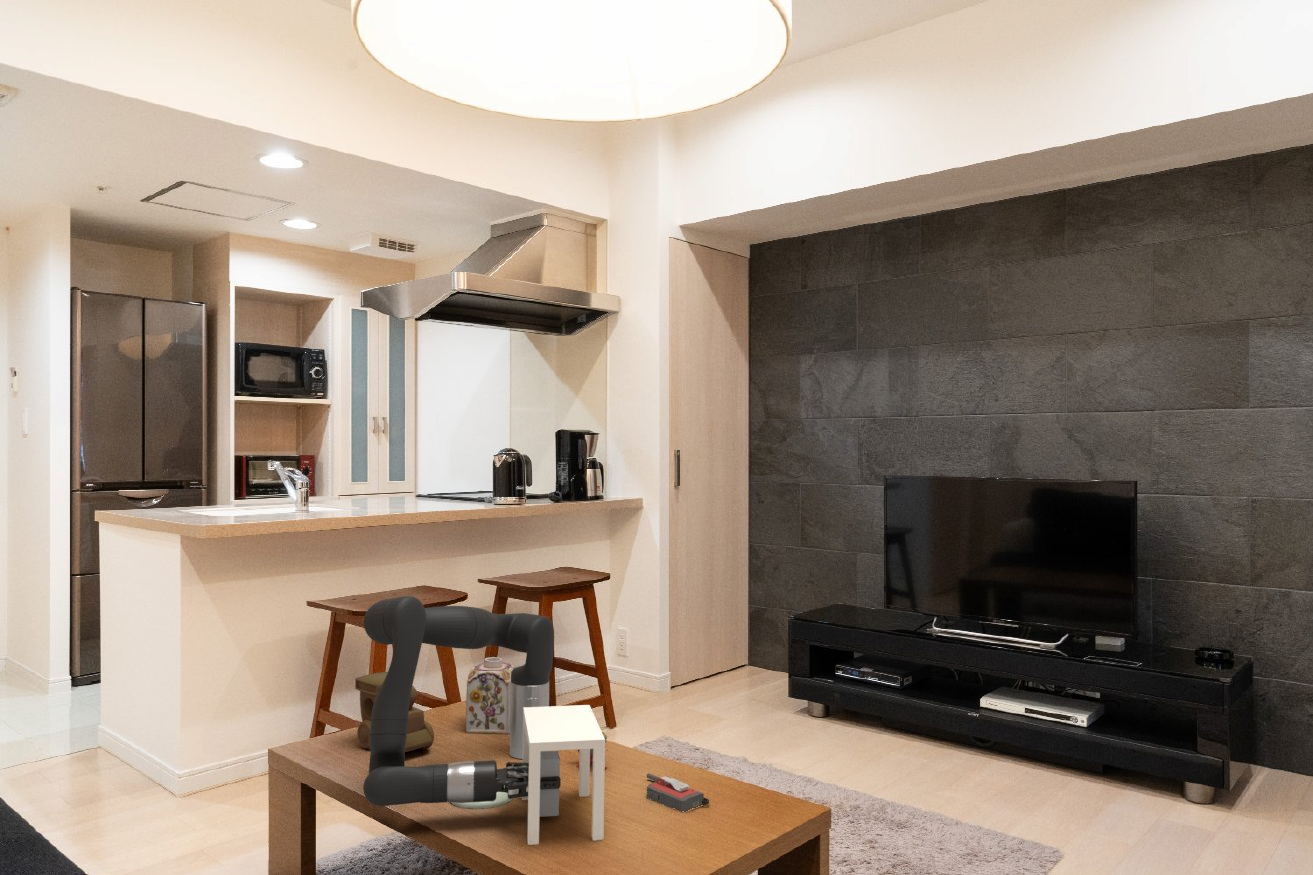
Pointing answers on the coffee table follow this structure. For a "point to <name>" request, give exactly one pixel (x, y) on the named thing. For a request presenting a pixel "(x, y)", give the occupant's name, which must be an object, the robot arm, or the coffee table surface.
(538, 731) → the white step stool
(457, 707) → the coffee table surface
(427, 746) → the wooden toy train
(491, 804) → the plate
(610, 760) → the coffee table surface
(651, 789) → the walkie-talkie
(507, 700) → the decorative jar
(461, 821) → the coffee table surface
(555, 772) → the block
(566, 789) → the coffee table surface
